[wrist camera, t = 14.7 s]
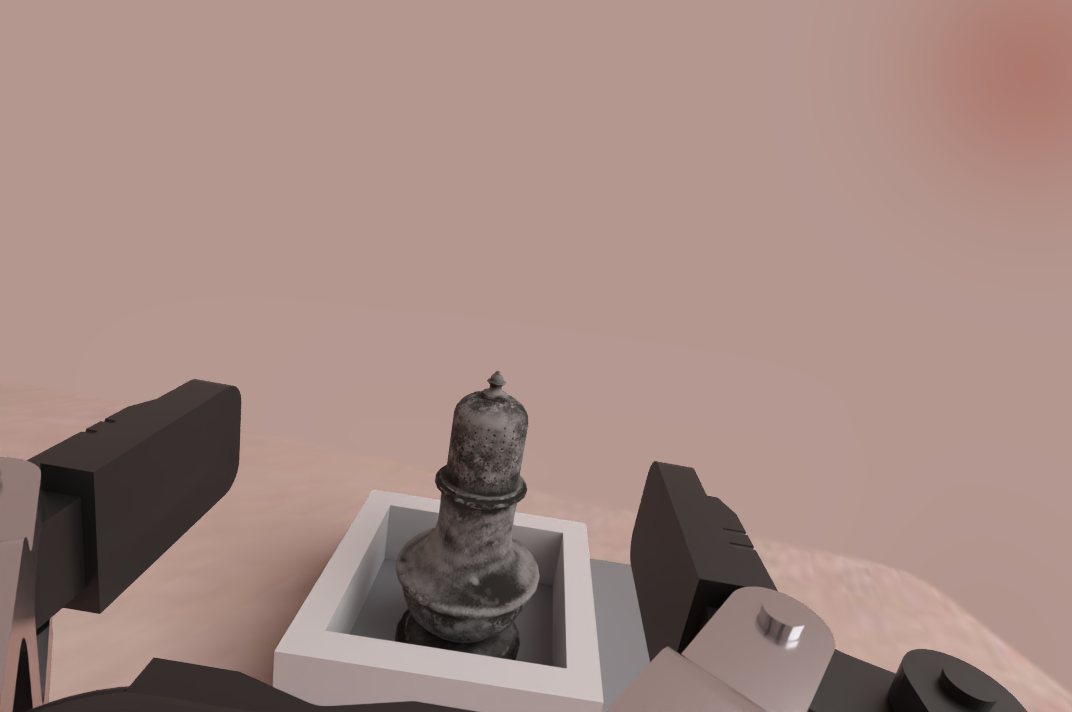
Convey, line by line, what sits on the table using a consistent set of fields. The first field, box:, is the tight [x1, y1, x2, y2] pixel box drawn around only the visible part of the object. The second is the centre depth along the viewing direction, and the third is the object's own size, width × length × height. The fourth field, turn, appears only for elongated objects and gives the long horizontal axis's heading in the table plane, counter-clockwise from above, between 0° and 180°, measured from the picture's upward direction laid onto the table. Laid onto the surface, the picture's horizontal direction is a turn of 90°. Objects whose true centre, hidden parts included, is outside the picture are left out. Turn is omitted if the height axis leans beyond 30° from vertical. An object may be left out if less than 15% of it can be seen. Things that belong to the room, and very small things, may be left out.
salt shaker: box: [395, 371, 540, 660], centre depth 24 cm, size 6×6×12 cm
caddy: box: [273, 489, 650, 712], centre depth 25 cm, size 20×14×4 cm
